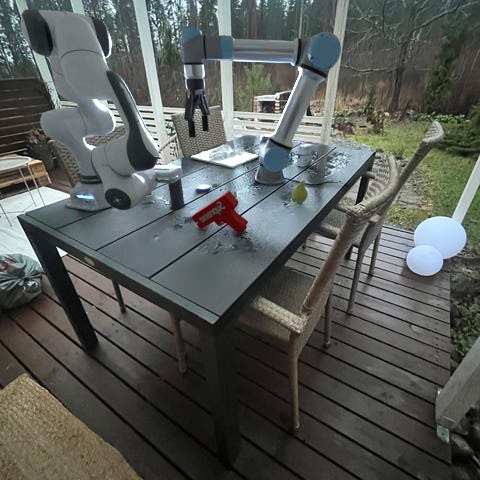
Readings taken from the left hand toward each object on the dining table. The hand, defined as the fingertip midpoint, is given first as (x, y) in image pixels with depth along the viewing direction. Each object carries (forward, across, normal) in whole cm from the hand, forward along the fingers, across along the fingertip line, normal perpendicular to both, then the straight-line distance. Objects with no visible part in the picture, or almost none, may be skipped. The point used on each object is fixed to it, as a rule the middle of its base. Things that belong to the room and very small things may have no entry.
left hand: (159, 166), depth 97 cm
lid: (+31, -7, +20) cm, 37 cm away
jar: (+12, 0, +22) cm, 25 cm away
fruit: (+23, -53, +22) cm, 62 cm away
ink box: (+77, -58, +22) cm, 99 cm away
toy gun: (-5, -22, +22) cm, 31 cm away
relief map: (+87, -7, +22) cm, 90 cm away
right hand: (+31, -7, -5) cm, 32 cm away
